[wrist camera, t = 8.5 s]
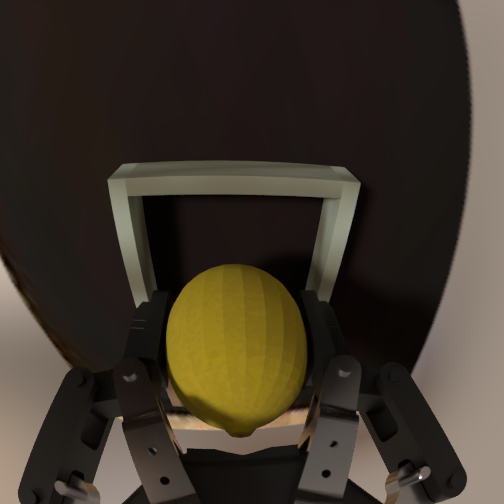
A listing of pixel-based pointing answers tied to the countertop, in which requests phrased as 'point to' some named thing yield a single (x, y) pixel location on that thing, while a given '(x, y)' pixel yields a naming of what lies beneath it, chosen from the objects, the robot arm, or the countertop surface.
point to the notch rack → (232, 182)
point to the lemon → (236, 348)
